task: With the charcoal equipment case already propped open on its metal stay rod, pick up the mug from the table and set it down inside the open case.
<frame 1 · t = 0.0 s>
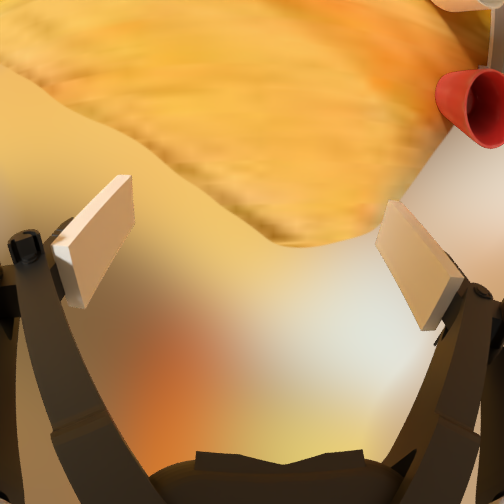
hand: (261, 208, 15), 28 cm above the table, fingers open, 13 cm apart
flower pot: (454, 96, 35), on the table
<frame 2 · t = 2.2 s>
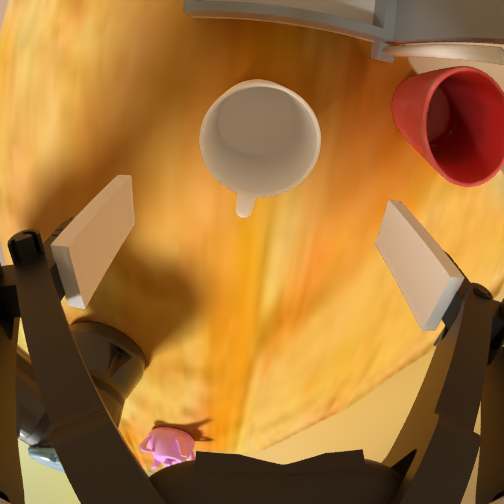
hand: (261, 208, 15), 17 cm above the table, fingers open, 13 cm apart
pink toy pig: (172, 433, 66), on the table
flower pot: (420, 108, 28), on the table
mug: (253, 136, 30), on the table
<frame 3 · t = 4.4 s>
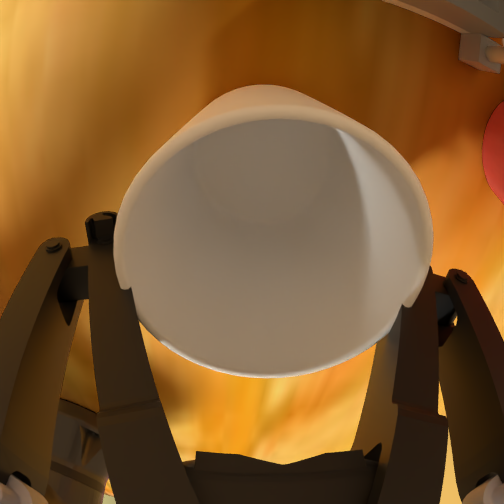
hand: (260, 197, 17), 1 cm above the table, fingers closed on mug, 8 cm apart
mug: (256, 189, 17), on the table, touching gripper
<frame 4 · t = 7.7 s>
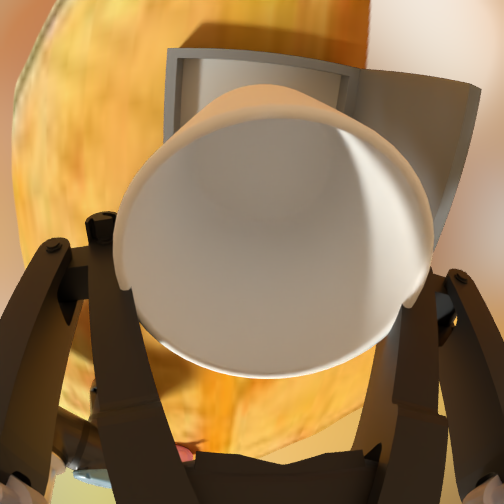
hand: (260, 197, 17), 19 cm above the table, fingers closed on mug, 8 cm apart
pink toy pig: (175, 448, 80), on the table
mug: (256, 189, 17), point 18 cm above the table, touching gripper
case: (255, 130, 32), on the table
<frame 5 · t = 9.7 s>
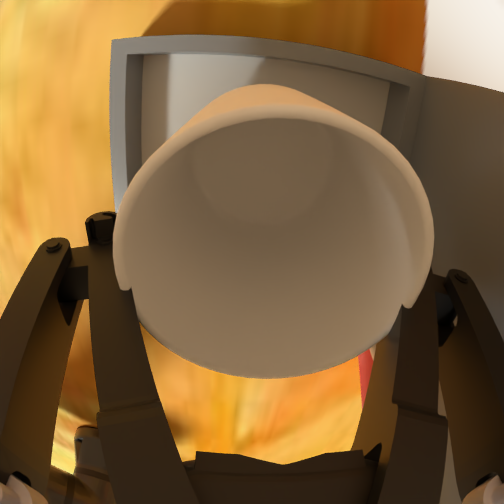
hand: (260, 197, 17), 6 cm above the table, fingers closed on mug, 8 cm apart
flower pot: (390, 317, 30), on the table
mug: (256, 189, 17), point 5 cm above the table, touching gripper
case: (257, 164, 21), on the table
when the fingers open (4 cm above the table, at t = 11.1 s): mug drops 2 cm, resting on case.
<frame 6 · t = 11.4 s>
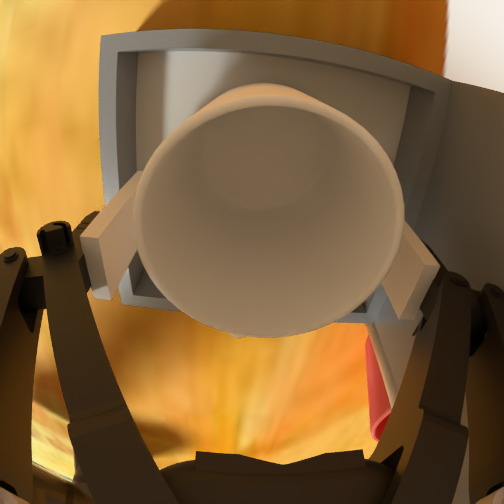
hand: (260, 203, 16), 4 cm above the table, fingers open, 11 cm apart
flower pot: (400, 333, 28), on the table
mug: (256, 178, 19), point 1 cm above the table, touching case
case: (264, 174, 20), on the table
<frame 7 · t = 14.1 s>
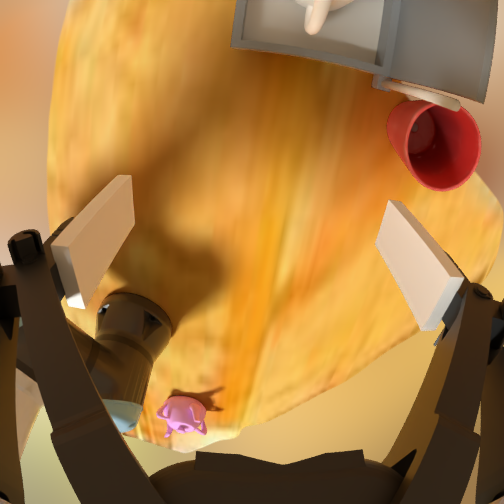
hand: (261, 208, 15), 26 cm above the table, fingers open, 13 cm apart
pink toy pig: (186, 403, 77), on the table
flower pot: (410, 126, 36), on the table
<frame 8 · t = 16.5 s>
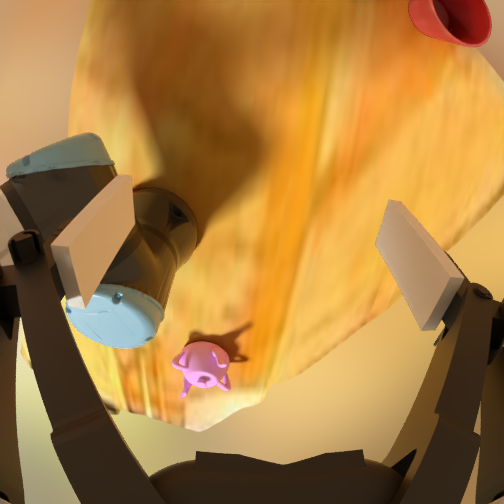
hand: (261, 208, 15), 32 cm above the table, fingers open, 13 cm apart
pink toy pig: (205, 353, 70), on the table
flower pot: (428, 15, 31), on the table
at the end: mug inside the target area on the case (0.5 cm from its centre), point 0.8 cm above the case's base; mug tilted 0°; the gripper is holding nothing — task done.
